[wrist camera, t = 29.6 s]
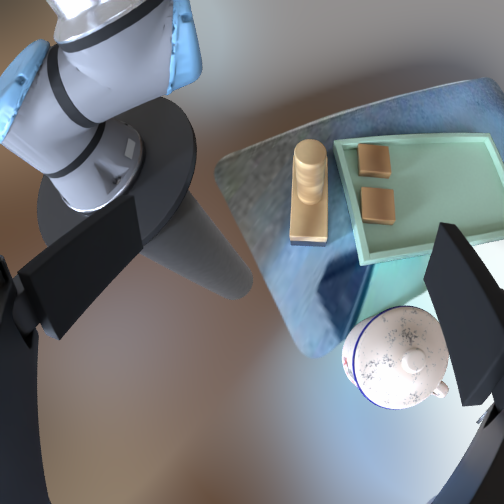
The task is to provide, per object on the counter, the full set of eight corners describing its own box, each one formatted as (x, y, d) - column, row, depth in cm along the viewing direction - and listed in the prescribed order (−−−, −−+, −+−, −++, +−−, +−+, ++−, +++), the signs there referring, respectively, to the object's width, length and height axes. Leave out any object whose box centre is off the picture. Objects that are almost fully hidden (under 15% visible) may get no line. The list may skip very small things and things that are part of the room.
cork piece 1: (358, 176, 36) (360, 170, 34) (356, 149, 37) (358, 143, 35) (388, 179, 35) (391, 173, 34) (386, 152, 36) (388, 146, 35)
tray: (360, 266, 34) (363, 261, 32) (332, 150, 38) (333, 140, 36) (519, 236, 31) (528, 231, 28) (483, 141, 35) (489, 132, 33)
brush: (290, 245, 36) (284, 203, 24) (294, 169, 38) (288, 108, 27) (325, 246, 35) (334, 205, 24) (325, 170, 37) (331, 109, 26)
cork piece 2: (360, 223, 34) (362, 218, 33) (359, 192, 35) (361, 186, 34) (392, 225, 33) (395, 221, 32) (390, 194, 34) (393, 189, 33)
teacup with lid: (322, 364, 31) (334, 379, 20) (370, 297, 33) (403, 278, 21) (401, 419, 28) (443, 450, 17) (445, 353, 29) (501, 356, 18)
